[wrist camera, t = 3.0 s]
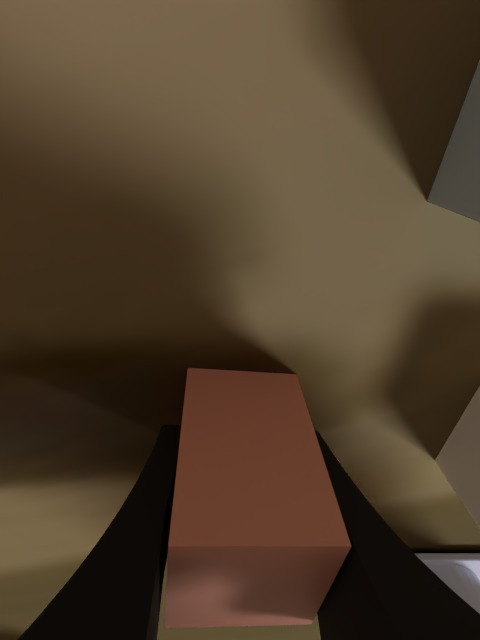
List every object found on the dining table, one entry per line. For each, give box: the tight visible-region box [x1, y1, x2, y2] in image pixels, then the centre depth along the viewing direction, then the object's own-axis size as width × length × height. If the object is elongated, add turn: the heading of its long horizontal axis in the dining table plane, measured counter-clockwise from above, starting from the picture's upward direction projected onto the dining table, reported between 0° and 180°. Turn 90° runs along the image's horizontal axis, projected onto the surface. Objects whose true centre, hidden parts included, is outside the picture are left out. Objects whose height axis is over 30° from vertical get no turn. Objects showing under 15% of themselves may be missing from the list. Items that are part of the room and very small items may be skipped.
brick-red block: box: [165, 368, 352, 628], centre depth 11 cm, size 4×4×6 cm
